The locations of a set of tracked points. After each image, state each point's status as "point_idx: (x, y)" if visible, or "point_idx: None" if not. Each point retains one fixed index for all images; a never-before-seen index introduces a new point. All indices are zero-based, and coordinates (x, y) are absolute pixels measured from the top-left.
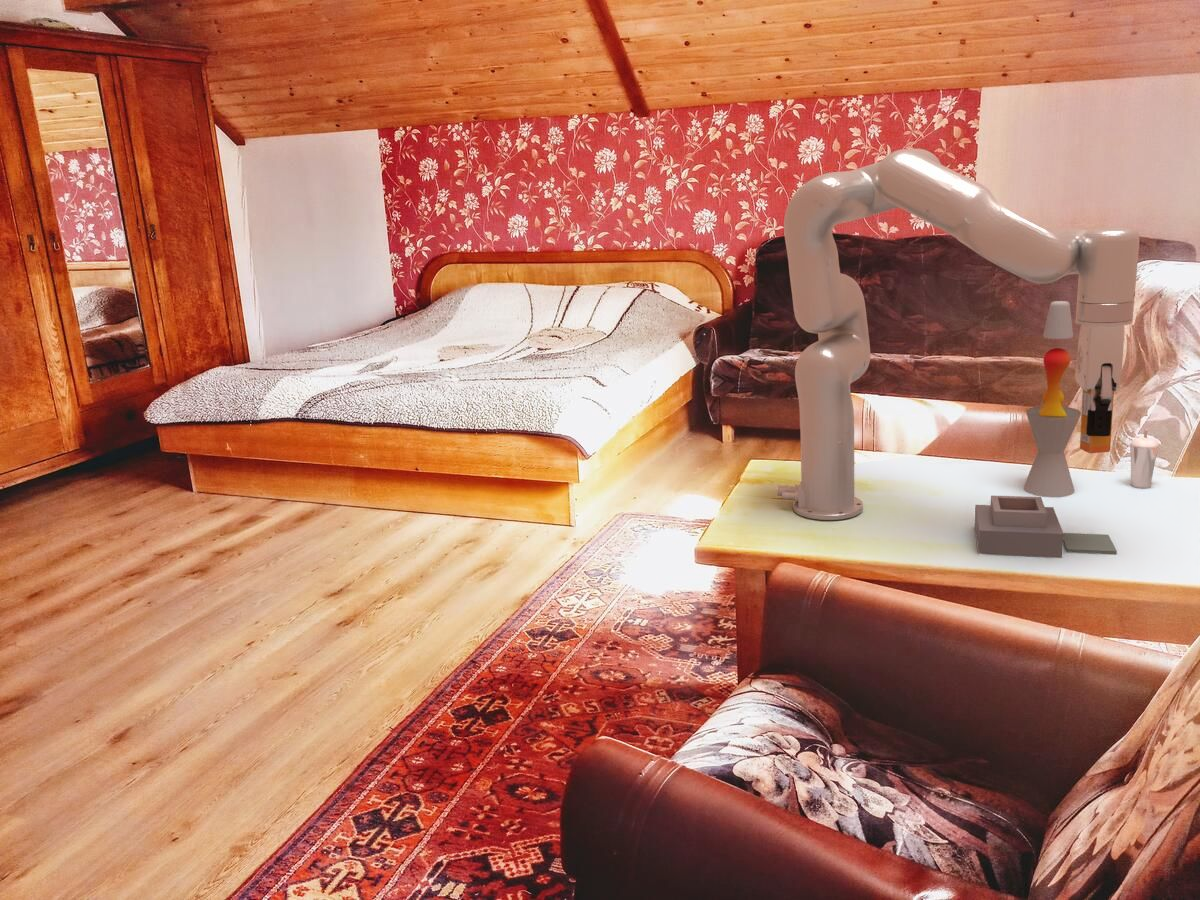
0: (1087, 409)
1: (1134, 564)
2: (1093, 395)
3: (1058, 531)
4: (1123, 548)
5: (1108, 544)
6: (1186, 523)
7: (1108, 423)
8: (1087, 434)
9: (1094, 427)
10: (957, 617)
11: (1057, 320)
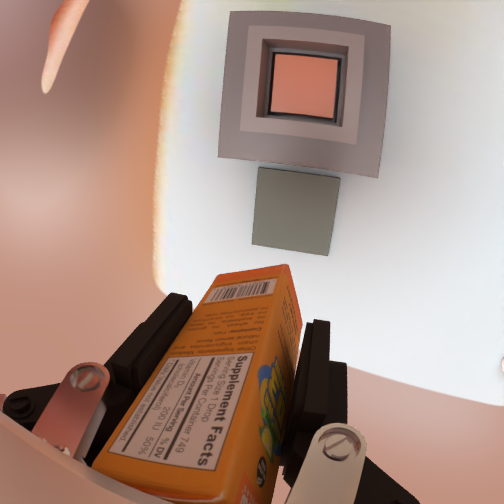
0: (186, 380)
1: (215, 253)
2: (39, 427)
3: (229, 150)
4: (279, 260)
5: (282, 241)
6: (373, 369)
7: None
8: (170, 294)
9: (137, 329)
10: (59, 26)
11: None
